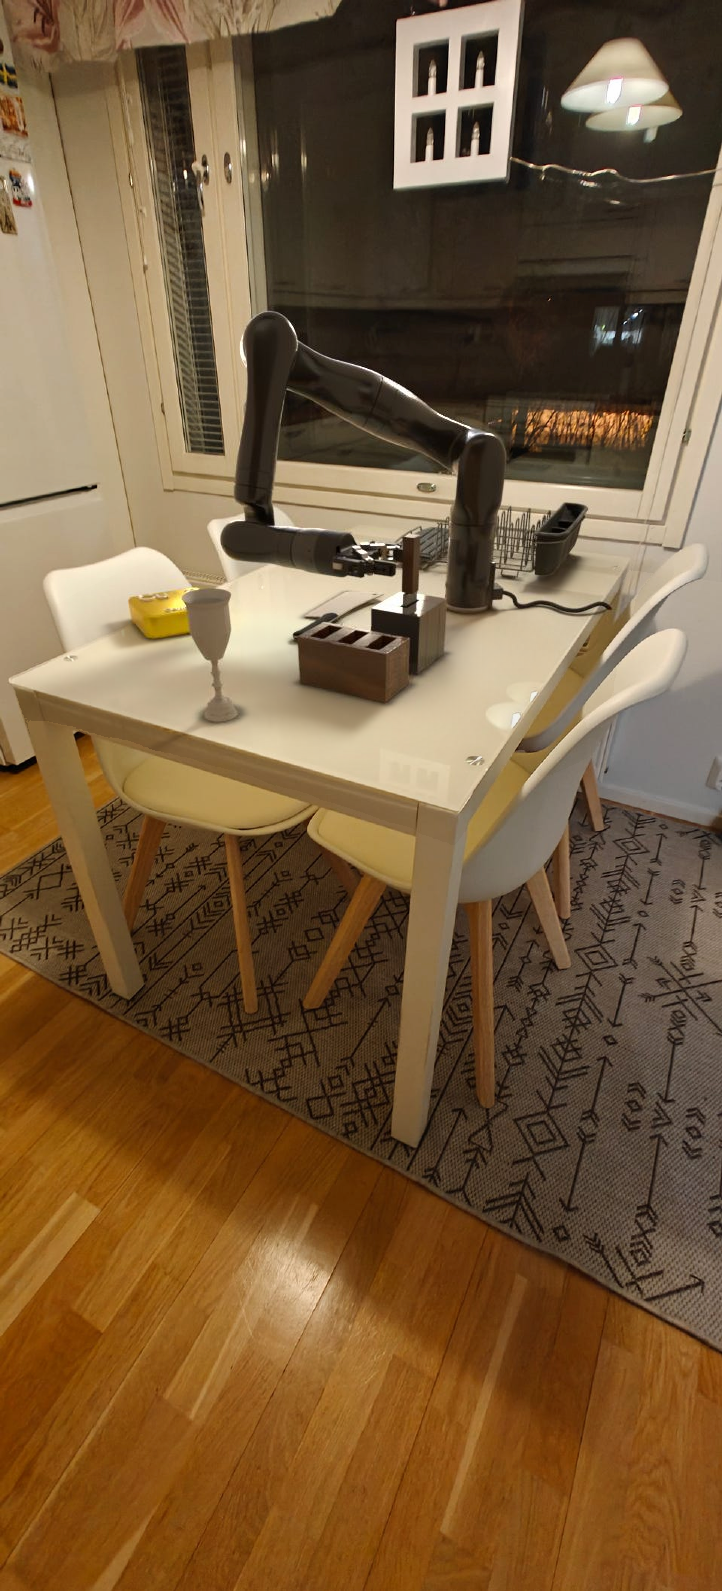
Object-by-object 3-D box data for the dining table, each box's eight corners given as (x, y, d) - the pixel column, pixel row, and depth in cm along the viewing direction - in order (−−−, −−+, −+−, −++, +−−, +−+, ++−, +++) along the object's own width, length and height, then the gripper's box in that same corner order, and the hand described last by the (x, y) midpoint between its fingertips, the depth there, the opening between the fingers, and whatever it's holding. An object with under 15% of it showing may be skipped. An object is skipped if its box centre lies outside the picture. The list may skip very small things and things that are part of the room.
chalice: (200, 704, 111) (184, 589, 102) (244, 702, 112) (232, 587, 102) (195, 726, 105) (177, 605, 96) (242, 723, 106) (229, 603, 96)
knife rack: (325, 666, 124) (323, 621, 120) (408, 684, 117) (409, 637, 113) (299, 683, 118) (297, 636, 114) (385, 703, 112) (386, 654, 107)
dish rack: (558, 586, 163) (566, 531, 157) (379, 566, 179) (379, 515, 172) (583, 552, 189) (591, 503, 183) (425, 536, 205) (427, 491, 198)
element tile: (148, 640, 135) (144, 615, 133) (129, 618, 146) (125, 594, 144) (224, 627, 141) (221, 603, 139) (200, 606, 152) (197, 583, 150)
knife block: (399, 644, 133) (400, 590, 127) (444, 653, 129) (447, 598, 124) (370, 664, 125) (370, 608, 119) (417, 674, 121) (419, 616, 116)
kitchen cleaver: (346, 587, 160) (386, 588, 155) (347, 595, 161) (386, 596, 156) (266, 630, 137) (310, 633, 132) (267, 639, 138) (311, 642, 133)
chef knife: (408, 654, 129) (411, 532, 118) (418, 656, 128) (422, 533, 117) (397, 661, 126) (400, 537, 115) (408, 663, 125) (411, 538, 114)
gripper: (299, 538, 118) (387, 549, 111) (344, 521, 128) (426, 531, 122) (302, 583, 122) (386, 597, 115) (344, 564, 132) (424, 575, 126)
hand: (406, 563), depth 118 cm, fingers open, 8 cm apart
